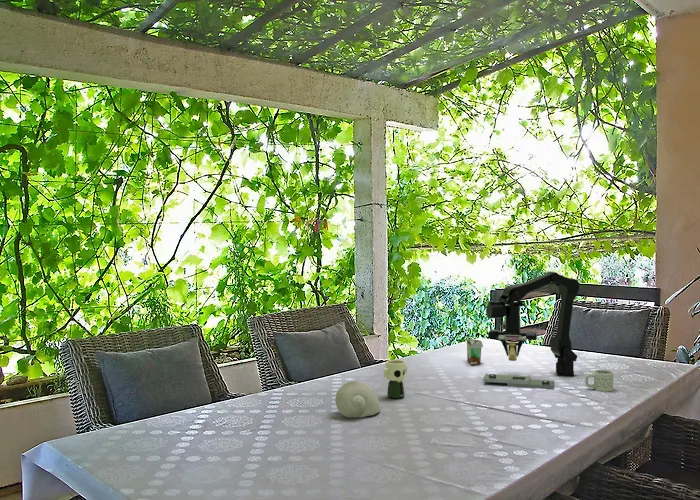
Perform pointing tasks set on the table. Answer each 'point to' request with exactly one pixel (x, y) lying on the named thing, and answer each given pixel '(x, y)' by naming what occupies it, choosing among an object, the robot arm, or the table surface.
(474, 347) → the food container
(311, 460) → the table surface
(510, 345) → the brass pin
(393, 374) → the character mug
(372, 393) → the seashell
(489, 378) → the plate with square hole
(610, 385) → the mug
